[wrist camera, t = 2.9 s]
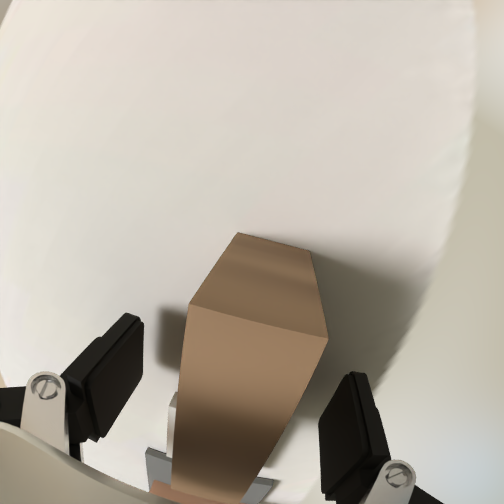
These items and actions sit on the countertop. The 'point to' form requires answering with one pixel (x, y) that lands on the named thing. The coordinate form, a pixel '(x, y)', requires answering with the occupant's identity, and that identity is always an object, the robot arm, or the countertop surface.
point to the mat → (161, 471)
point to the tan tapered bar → (243, 366)
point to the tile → (178, 495)
